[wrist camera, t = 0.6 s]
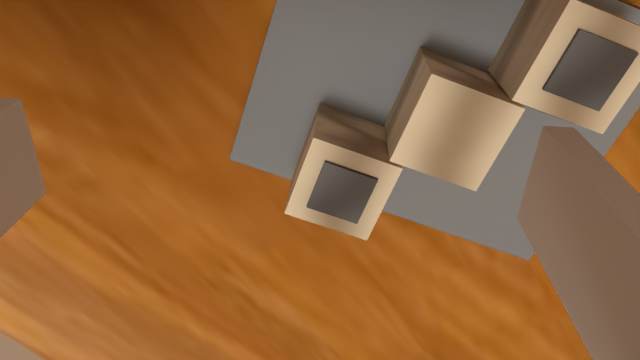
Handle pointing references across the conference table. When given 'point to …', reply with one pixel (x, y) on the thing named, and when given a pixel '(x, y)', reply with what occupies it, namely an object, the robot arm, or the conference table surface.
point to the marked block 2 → (569, 61)
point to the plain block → (449, 120)
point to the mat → (381, 92)
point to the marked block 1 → (342, 174)
